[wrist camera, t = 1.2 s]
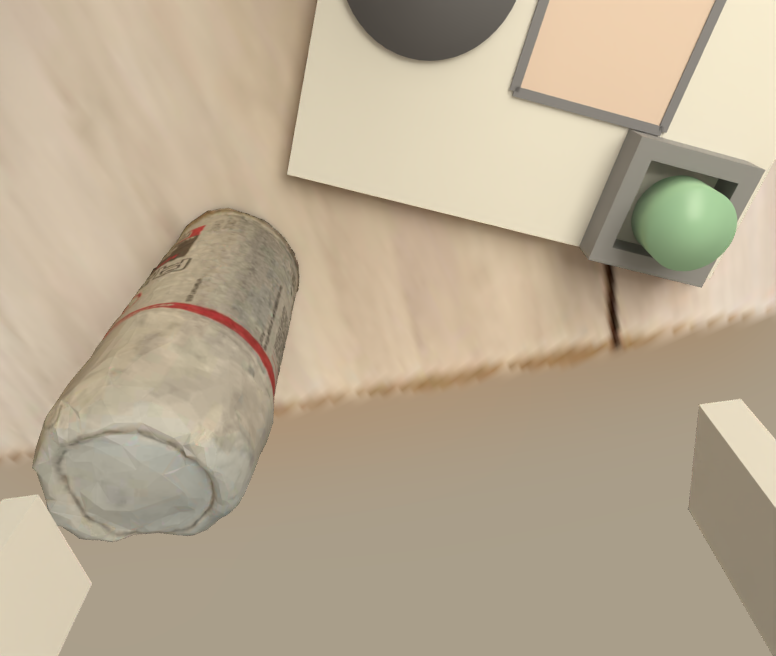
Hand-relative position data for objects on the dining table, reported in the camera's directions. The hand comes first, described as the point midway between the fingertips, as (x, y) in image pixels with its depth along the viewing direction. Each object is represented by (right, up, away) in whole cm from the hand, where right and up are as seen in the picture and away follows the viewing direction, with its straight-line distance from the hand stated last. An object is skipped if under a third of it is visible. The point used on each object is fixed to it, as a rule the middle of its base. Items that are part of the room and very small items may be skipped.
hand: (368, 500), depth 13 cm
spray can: (-9, +7, +27) cm, 29 cm away
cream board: (+9, +17, +21) cm, 29 cm away
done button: (+16, +10, +21) cm, 28 cm away
